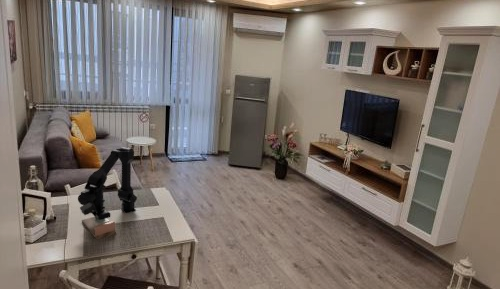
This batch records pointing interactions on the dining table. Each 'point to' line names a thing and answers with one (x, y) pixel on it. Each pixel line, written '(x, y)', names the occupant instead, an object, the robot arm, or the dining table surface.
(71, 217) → the dining table surface
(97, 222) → the pale sage green cube
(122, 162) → the robot arm
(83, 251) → the dining table surface
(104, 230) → the brown boxy piece
